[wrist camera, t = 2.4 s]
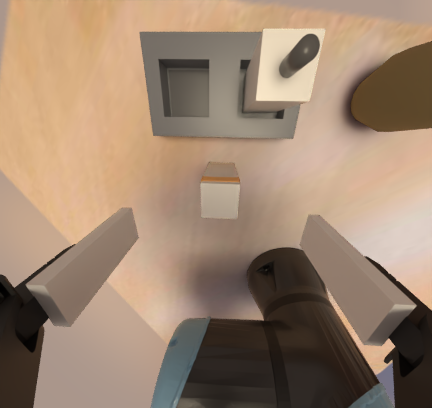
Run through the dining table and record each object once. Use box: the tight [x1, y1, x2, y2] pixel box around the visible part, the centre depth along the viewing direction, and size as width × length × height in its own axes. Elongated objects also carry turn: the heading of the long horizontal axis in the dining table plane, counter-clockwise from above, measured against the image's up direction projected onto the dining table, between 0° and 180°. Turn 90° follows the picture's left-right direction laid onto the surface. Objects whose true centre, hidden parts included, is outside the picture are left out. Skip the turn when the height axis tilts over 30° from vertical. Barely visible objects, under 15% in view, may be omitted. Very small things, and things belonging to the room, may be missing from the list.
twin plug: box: [242, 29, 326, 113], centre depth 15 cm, size 4×4×14 cm
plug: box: [200, 162, 240, 219], centre depth 22 cm, size 4×4×11 cm
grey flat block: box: [140, 32, 300, 139], centre depth 21 cm, size 10×18×4 cm, turn 89°
